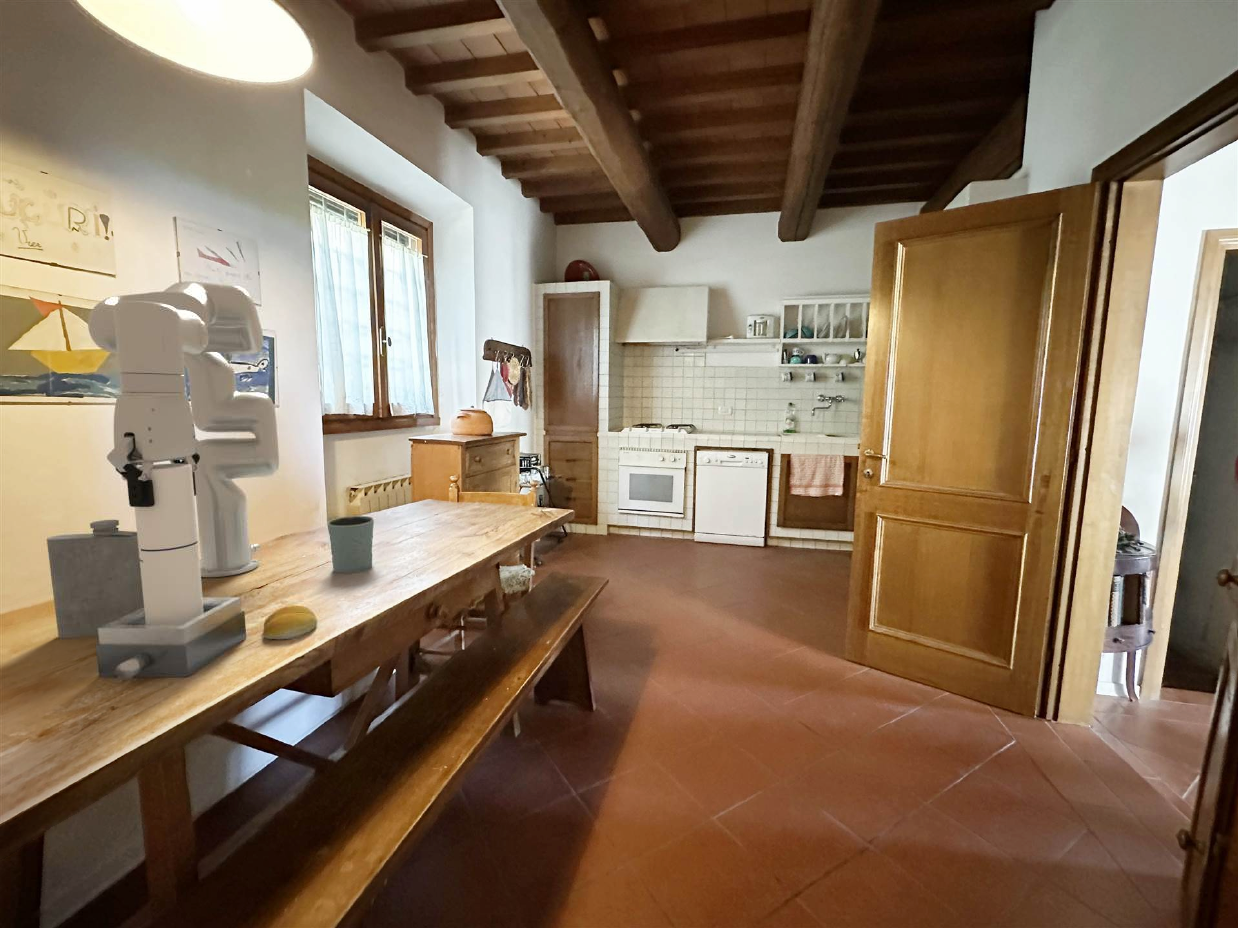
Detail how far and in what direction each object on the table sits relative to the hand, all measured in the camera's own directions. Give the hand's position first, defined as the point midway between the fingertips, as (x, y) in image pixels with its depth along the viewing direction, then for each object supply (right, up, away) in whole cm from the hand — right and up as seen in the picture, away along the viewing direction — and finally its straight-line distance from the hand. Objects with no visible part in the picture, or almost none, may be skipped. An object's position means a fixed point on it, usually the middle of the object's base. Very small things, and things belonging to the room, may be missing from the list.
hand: (164, 500), depth 82 cm
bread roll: (+11, -25, +14) cm, 30 cm away
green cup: (+5, -20, +48) cm, 52 cm away
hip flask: (-19, -24, +11) cm, 33 cm away
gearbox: (0, -26, +2) cm, 26 cm away
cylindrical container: (0, -20, +3) cm, 20 cm away
